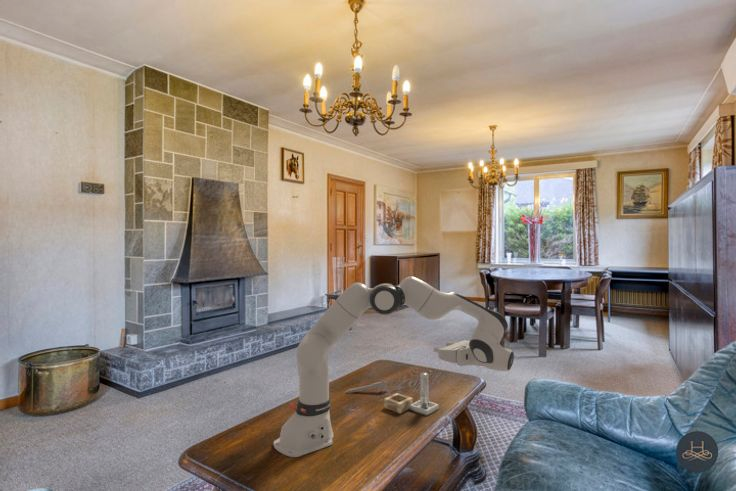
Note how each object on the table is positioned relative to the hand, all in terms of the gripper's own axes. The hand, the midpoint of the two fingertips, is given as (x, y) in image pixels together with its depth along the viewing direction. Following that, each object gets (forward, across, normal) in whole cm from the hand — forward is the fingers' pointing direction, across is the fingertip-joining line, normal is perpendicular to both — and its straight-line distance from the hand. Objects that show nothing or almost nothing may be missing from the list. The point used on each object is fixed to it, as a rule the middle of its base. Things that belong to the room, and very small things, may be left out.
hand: (441, 346), depth 162 cm
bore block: (+20, +3, +30) cm, 36 cm away
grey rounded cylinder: (+10, -3, +29) cm, 31 cm away
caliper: (+43, 0, +30) cm, 53 cm away
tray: (+11, -3, +30) cm, 32 cm away
